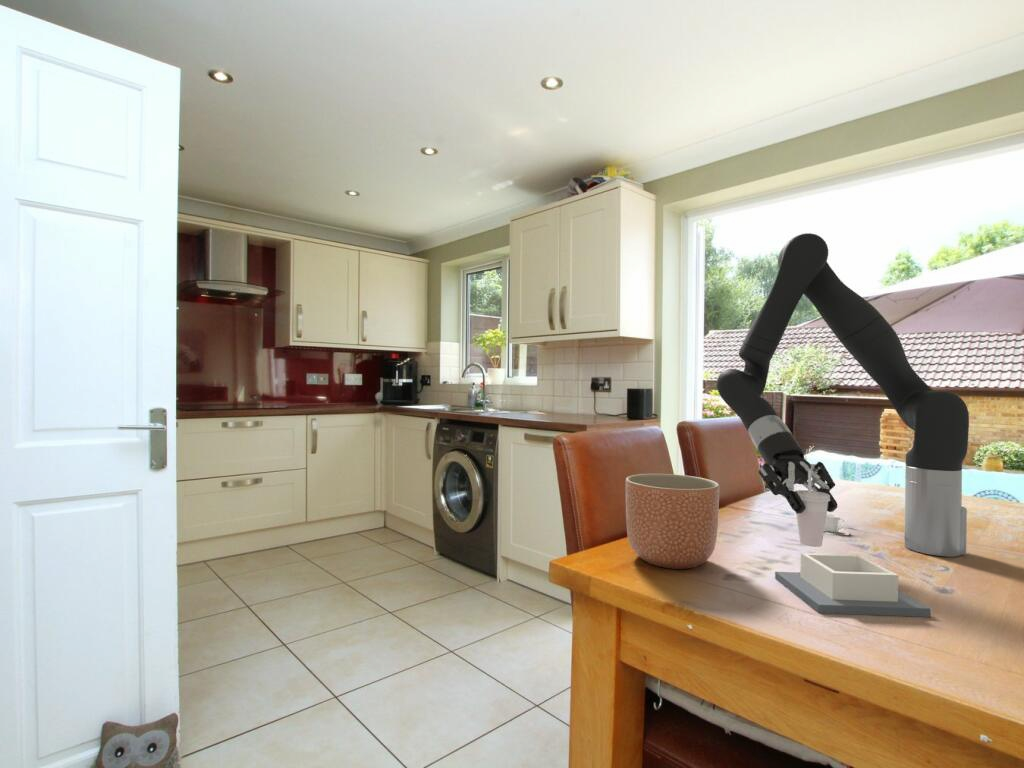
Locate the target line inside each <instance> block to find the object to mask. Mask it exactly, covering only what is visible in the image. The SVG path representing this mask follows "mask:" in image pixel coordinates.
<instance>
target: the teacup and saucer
mask: <svg viewBox="0 0 1024 768" xmlns="http://www.w3.org/2000/svg"><path fill="white" fill-rule="evenodd" d="M840 520H842V524H841V526H839V521H840ZM844 525H845V519H843V518H842V517H839V516H838V515H836V514H829V513H828V514H826V521H825V528H824V531H825V530H826V531H825V532H827V531H830V532H829V533H833V532H834V533H837V531H840V530H839V529H843V526H844ZM837 528H838V529H837Z"/></svg>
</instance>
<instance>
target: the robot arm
mask: <svg viewBox="0 0 1024 768" xmlns="http://www.w3.org/2000/svg"><path fill="white" fill-rule="evenodd" d="M828 257H829V248H828V244H827V243H826V240H824V238H823V237H821V236H820V235H817V234H815V233H811V232H810V233H806V232H805V233H801V234H799V235H796V236H793V237H792V238H790V240H788V241H787V242H786V243H785V244H784V246H783V247H782V248H781V249H780V251H779V254H778V258H777V264H778V265H777V266H778V270H777V274H776V277H775V280H774V282H773V285H772V287H771V289H770V291H769V293H768V296H767V298H766V300H765V301H764V302H763V305H762V306H761V308H760V309H759V311H758V313H757V314H756V317H755V318H754V320H753V322H752V324H751V326H750V328H749V329H748V332H747V334H746V335H745V338H744V340H743V342H742V344H741V346H740V348H739V350H738V357H740V359H741V360H743V362H744V369H743V371H742V370H739V369H736V368H729V369H726V370H723V371H721V373H720V374H719V375H718V378H717V381H716V388H717V393H718V394H719V396H720V398H721V399H722V400H723V401H724V403H725V404H726V405H727V406H728V407H729V408H730V409H731V410H732V411H733V413H734V414H736V415H737V416H738V418H740V420H741V423H742V424H743V426H744V428H745V429H746V432H747V433H748V434H749V436H750V439H751V441H752V443H753V445H754V447H755V448H756V450H757V451H758V453H759V455H760V457H761V459H762V460H763V462H764V464H763V465H762V466H761V468H760V469H759V470H758V474H759V475H760V477H761V478H762V480H763V481H764V483H765V485H766V486H767V487H768V489H769V490H770V492H771V493H772V494H773V495H774V496H778V495H781V496H782V497H783V498H785V499H786V501H787V502H788V504H789V506H790V508H791V509H792V510H793V511H794V512H795V514H796V513H797V514H800V513H802V512H803V511H804V510H805V509H806V507H805V505H804V503H803V502H802V500H801V498H800V497H799V495H798V494H797V492H796V491H797V490H795V485H796V484H797V485H802V486H803V487H804V488H806V489H807V490H808V470H811V491H818V492H823V493H827V494H829V495H830V501H828V507H827V512H828V513H833V512H834V511H835V510H836V509H837V508H838V502H837V501H836V499H835V498H834V496H833V494H832V493H831V492H830V491H832V489H833V488H834V487H835V486H836V483H835V481H834V480H833V478H832V476H831V475H830V473H829V471H828V470H827V468H826V466H825V465H824V463H823V462H821V461H817V462H816V463H815V464H814V463H810V462H809V461H807V459H806V458H805V457H804V451H803V448H802V447H801V445H800V444H799V442H798V441H797V439H796V437H795V436H794V435H793V434H792V432H791V430H790V429H789V427H788V425H787V424H786V423H785V422H784V421H783V420H782V419H781V418H780V416H779V415H778V413H777V411H776V410H775V408H774V407H773V405H772V404H771V403H770V402H769V401H768V400H766V399H765V398H763V397H762V395H763V393H764V392H765V388H766V385H767V380H768V375H769V371H770V363H771V360H772V359H773V357H774V355H775V353H776V351H777V349H778V346H779V344H780V343H781V341H782V339H783V336H784V333H785V331H786V329H787V327H788V325H789V323H790V320H791V318H792V316H793V314H794V311H795V310H796V308H797V306H798V304H799V302H800V301H801V298H802V297H803V295H804V296H805V297H806V298H807V299H808V300H809V301H810V302H811V304H813V306H814V308H815V309H816V311H817V312H818V313H819V315H820V317H821V318H822V319H823V320H824V322H825V323H826V324H827V326H828V328H829V329H830V330H831V332H832V333H833V334H834V335H835V337H836V338H837V340H838V341H839V342H840V343H841V345H842V346H843V347H844V349H846V350H847V352H848V353H849V354H850V355H851V356H852V358H854V359H855V360H856V362H857V363H858V364H859V365H860V366H861V368H862V369H863V370H864V371H865V372H866V373H867V375H868V376H870V378H871V379H872V380H873V381H874V382H875V383H876V384H877V385H878V386H879V388H880V389H881V391H882V392H883V394H884V395H885V397H886V399H888V401H889V402H890V403H891V405H892V407H893V409H894V410H895V412H896V413H897V415H898V416H899V417H900V419H901V421H902V422H903V424H905V425H906V427H908V428H909V429H910V430H912V431H914V436H913V444H912V447H911V449H910V450H909V451H907V452H906V453H905V454H906V455H905V473H904V474H905V477H904V478H905V480H904V481H905V483H904V484H905V486H904V487H905V488H904V489H905V492H904V493H905V494H904V496H905V499H904V547H906V548H907V549H909V550H911V551H914V552H917V553H921V554H927V555H931V556H938V557H939V556H940V557H949V558H950V557H952V558H955V557H960V556H967V538H968V537H967V533H968V531H967V529H968V528H967V527H968V526H967V525H968V521H967V520H968V519H967V518H968V516H967V515H968V510H967V507H966V506H965V507H964V506H962V505H963V502H962V499H963V497H962V496H963V493H962V491H963V488H962V487H963V462H964V460H965V459H966V456H967V453H968V443H969V432H970V431H969V430H970V429H969V428H970V415H969V409H968V406H967V403H965V401H964V400H963V399H962V398H961V397H960V396H959V395H958V394H955V393H954V392H949V391H945V390H934V389H933V388H931V387H930V386H929V385H928V384H927V383H926V382H925V381H924V380H923V379H922V378H921V376H920V375H918V374H917V372H916V371H915V370H914V369H913V367H912V366H911V363H910V362H909V360H908V358H907V354H906V353H905V350H904V347H903V345H902V342H901V340H900V338H899V335H898V333H897V332H896V331H895V329H894V328H893V327H892V325H891V324H890V323H889V321H887V320H886V318H885V317H884V316H883V315H882V314H881V313H880V312H879V311H878V309H876V307H875V306H874V305H872V304H871V303H870V302H869V301H867V300H866V299H865V298H863V297H861V295H859V294H858V292H855V291H854V290H852V288H850V287H849V286H848V285H846V284H845V283H844V282H843V281H842V280H841V279H840V277H838V275H837V274H836V273H835V272H834V269H832V267H831V265H829V263H828ZM816 485H818V486H819V487H818V486H816Z"/></svg>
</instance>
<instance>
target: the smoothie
mask: <svg viewBox="0 0 1024 768" xmlns="http://www.w3.org/2000/svg"><path fill="white" fill-rule="evenodd" d="M811 481H812V477H811V470H808V489H807V490H806V489H804V490H803V489H802V490H795V491H796V492H797V494H798V495H799V497H800V498H801V500H802V502H803V503H804V505H805V507H806V509H805V510H804V511H803V512H802V513H800V514H797V513H796V512H795V515H796V522H797V530H798V531H797V532H798V537H799V538H798V539H799V543H800V544H801V545H803V546H807V547H815V548H816V547H818V548H819V547H822V546H823V542H824V541H823V540H824V535H825V534H824V533H825V529H824V528H825V521H826V514H827V512H828V511H827V507H828V501H830V495H829V494H827V493H823V492H818V491H812V490H811Z"/></svg>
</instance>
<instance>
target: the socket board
mask: <svg viewBox="0 0 1024 768" xmlns="http://www.w3.org/2000/svg"><path fill="white" fill-rule="evenodd" d="M774 579H775V580H776V581H778V583H780V584H781V585H782V586H784V587H785V588H786V589H788V591H790V592H791V593H793V594H794V595H795V596H796V597H798V598H799V599H800V600H801V601H803V602H804V603H806V605H808V607H810V608H812V609H813V610H814V611H816V613H818V614H839V615H840V614H842V615H843V614H844V615H865V616H866V615H868V616H869V615H870V616H896V617H897V616H898V617H900V616H901V617H902V616H903V617H929V618H931V616H932V615H931V614H932V612H931V611H932V609H931V608H930V607H929V606H927V605H925V604H923V603H922V602H920V601H918V600H916V599H914V598H913V597H910V595H908V594H906V593H904V592H902V591H900V590H899V574H896V573H895V572H893V571H891V570H889V569H887V568H885V567H883V566H881V565H879V564H877V563H875V562H874V561H871V560H869V559H868V558H866V557H864V556H862V555H860V554H844V553H842V554H841V553H840V554H838V553H835V554H834V553H811V552H810V553H808V552H807V553H806V552H804V553H803V552H801V553H800V572H797V571H795V572H794V571H775V573H774Z"/></svg>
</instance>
